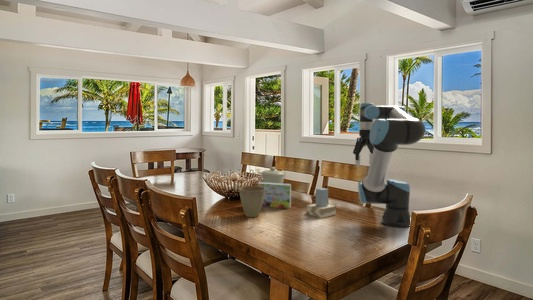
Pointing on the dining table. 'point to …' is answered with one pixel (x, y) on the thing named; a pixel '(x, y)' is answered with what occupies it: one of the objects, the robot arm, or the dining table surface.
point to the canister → (273, 176)
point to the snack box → (276, 195)
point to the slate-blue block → (321, 197)
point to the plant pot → (252, 199)
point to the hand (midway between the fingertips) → (364, 164)
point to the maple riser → (321, 210)
